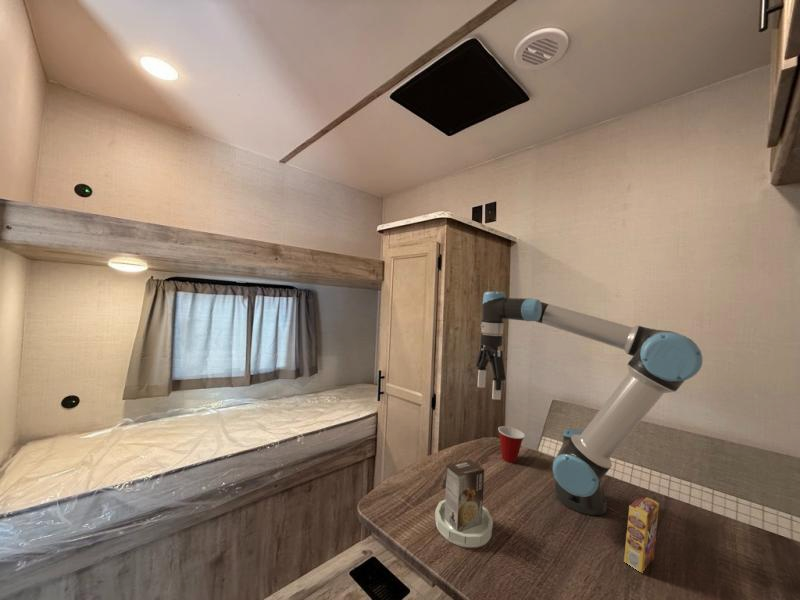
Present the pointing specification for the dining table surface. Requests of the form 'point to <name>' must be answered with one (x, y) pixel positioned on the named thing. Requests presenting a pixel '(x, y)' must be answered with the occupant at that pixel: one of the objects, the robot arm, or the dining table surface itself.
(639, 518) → the candy box
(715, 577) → the dining table surface
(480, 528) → the round dish
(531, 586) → the dining table surface
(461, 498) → the coffee box
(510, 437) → the plastic cup
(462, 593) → the dining table surface
